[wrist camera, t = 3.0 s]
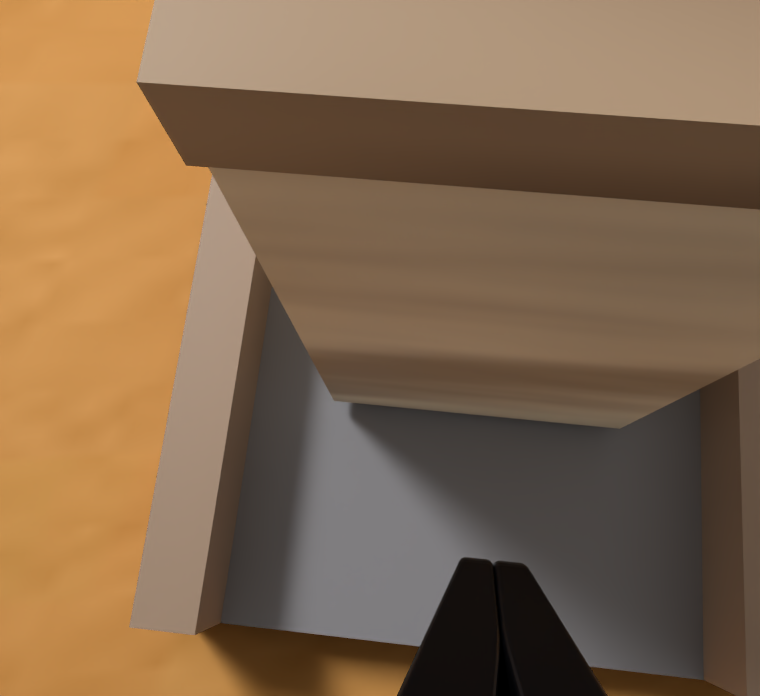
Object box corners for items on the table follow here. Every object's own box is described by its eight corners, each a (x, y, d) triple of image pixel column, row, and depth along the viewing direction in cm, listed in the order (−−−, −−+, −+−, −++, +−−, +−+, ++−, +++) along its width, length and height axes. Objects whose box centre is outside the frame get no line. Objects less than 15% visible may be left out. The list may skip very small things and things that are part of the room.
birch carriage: (624, 434, 15) (1218, 155, 4) (328, 405, 15) (137, 81, 4) (628, 205, 16) (1080, -467, 5) (356, 184, 16) (261, -480, 6)
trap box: (738, 675, 15) (901, 743, 10) (181, 610, 15) (78, 643, 11) (719, -118, 20) (819, -325, 15) (305, -138, 21) (275, -342, 16)
